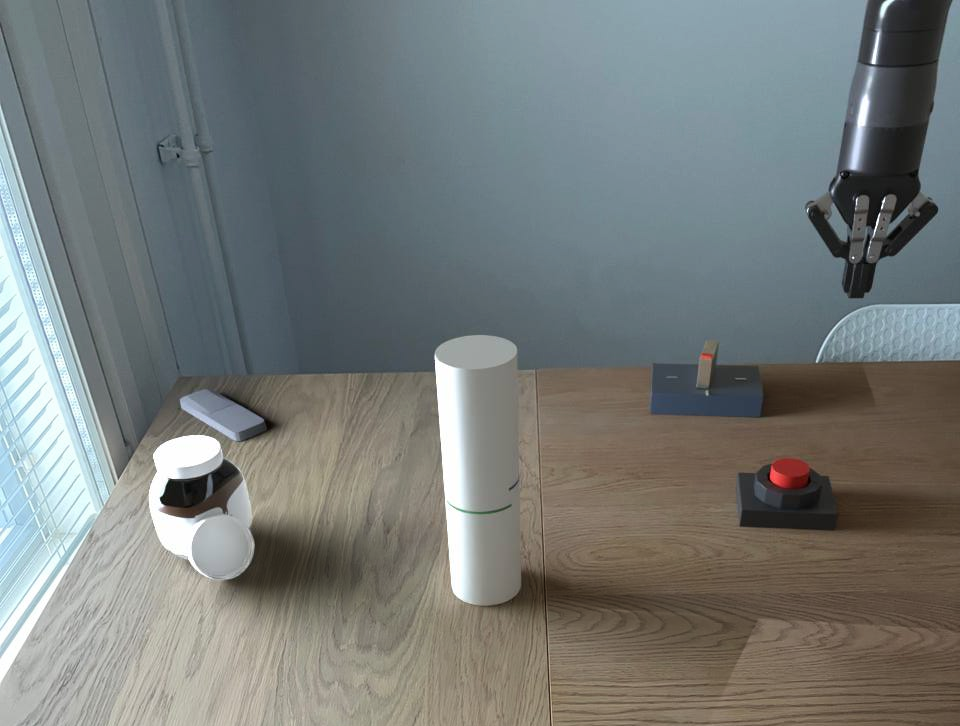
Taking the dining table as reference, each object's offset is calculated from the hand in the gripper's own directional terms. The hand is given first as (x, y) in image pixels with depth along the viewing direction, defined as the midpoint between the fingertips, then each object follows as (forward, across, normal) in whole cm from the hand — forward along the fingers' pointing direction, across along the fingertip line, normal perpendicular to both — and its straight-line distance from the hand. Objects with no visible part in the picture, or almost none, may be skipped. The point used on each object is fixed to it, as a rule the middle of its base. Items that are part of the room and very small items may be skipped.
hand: (854, 295), depth 103 cm
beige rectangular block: (+17, +13, -16) cm, 27 cm away
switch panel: (+20, +13, -16) cm, 29 cm away
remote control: (+19, +77, -8) cm, 80 cm away
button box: (+20, +6, +10) cm, 23 cm away
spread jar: (+19, +67, +23) cm, 73 cm away
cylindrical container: (+19, +37, +27) cm, 50 cm away
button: (+16, +6, +10) cm, 20 cm away
